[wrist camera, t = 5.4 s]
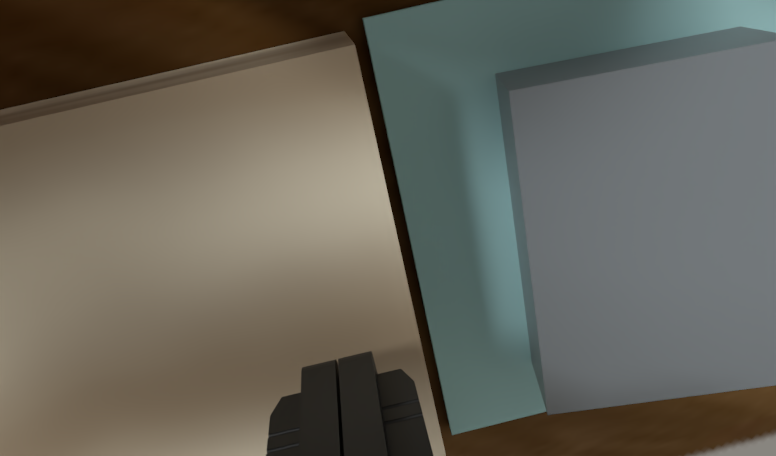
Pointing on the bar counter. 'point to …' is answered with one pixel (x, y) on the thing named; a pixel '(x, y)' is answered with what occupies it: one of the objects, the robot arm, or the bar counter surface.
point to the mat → (492, 163)
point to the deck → (194, 255)
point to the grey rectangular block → (647, 218)
